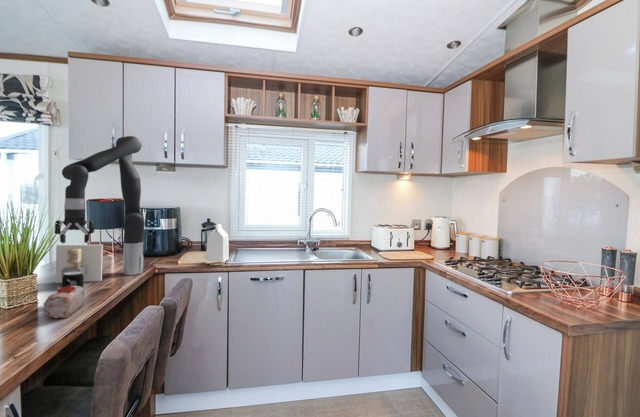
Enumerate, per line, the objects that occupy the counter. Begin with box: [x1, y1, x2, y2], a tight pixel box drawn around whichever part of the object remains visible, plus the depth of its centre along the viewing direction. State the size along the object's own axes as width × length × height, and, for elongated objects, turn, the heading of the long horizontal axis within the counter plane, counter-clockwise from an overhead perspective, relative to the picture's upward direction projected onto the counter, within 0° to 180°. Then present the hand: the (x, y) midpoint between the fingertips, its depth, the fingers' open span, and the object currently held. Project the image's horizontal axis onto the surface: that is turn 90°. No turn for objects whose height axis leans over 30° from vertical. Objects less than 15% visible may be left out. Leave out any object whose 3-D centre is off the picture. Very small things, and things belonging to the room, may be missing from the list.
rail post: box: [67, 249, 81, 269], centre depth 139 cm, size 4×4×11 cm
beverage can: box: [61, 271, 84, 288], centre depth 119 cm, size 7×7×12 cm
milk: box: [205, 224, 230, 262], centre depth 199 cm, size 12×12×26 cm
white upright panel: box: [54, 244, 104, 284], centre depth 141 cm, size 18×11×18 cm, turn 111°
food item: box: [43, 286, 86, 319], centre depth 109 cm, size 14×8×10 cm, turn 17°
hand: (74, 242), depth 139 cm, fingers open, 8 cm apart
